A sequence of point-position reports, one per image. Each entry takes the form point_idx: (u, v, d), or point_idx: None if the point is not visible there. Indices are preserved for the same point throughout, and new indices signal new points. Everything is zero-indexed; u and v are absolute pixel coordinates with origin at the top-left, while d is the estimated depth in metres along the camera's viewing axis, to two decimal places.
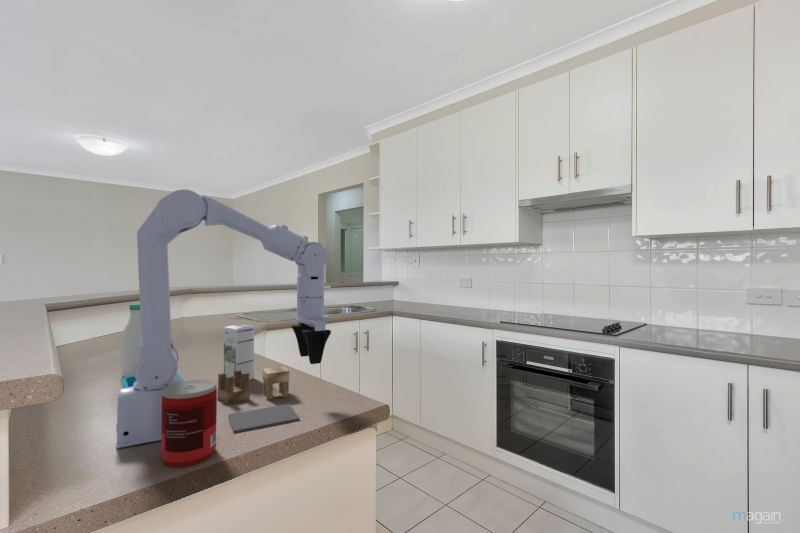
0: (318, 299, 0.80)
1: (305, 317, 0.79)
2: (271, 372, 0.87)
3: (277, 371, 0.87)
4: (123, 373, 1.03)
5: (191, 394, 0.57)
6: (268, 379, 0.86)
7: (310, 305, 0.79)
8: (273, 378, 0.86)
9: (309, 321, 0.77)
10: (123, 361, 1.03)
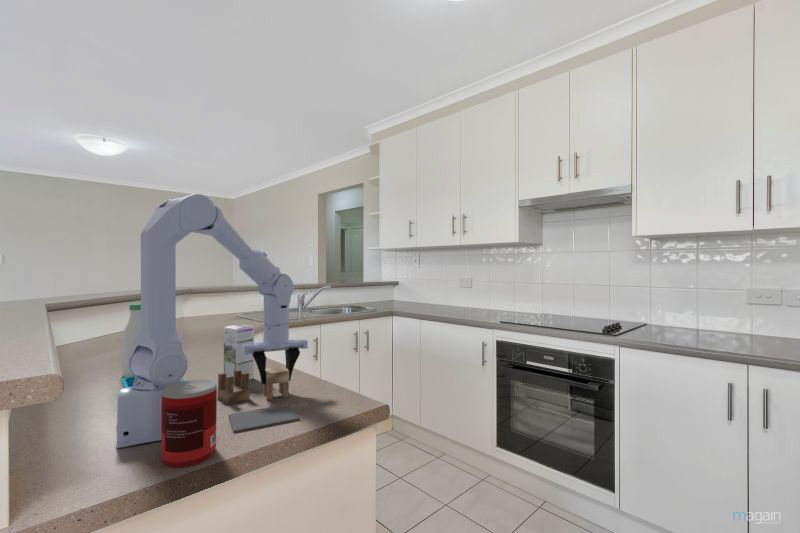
0: (265, 326, 0.87)
1: None
2: (271, 372, 0.87)
3: (277, 371, 0.87)
4: (123, 373, 1.03)
5: (191, 394, 0.57)
6: (268, 379, 0.86)
7: (263, 331, 0.88)
8: (273, 378, 0.86)
9: None
10: (123, 361, 1.03)
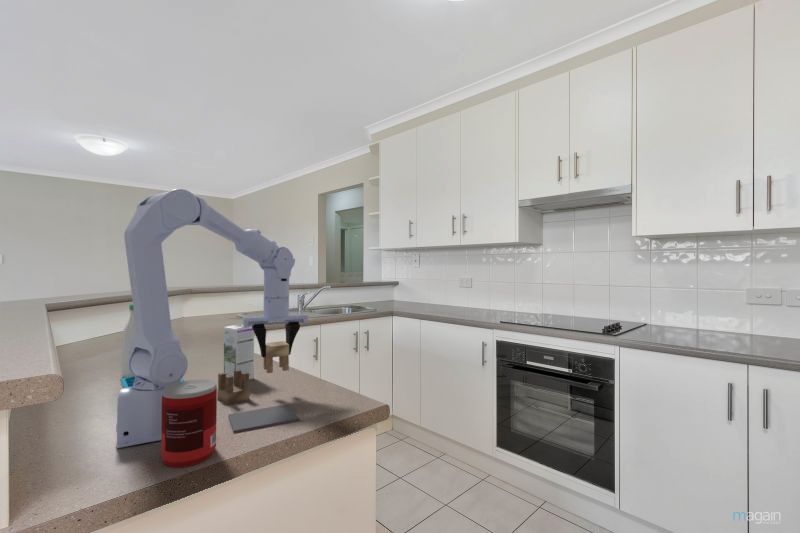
0: (265, 299, 0.87)
1: None
2: (271, 346, 0.87)
3: (277, 345, 0.87)
4: (123, 373, 1.03)
5: (191, 394, 0.57)
6: (268, 352, 0.86)
7: None
8: (273, 351, 0.86)
9: None
10: (123, 361, 1.03)
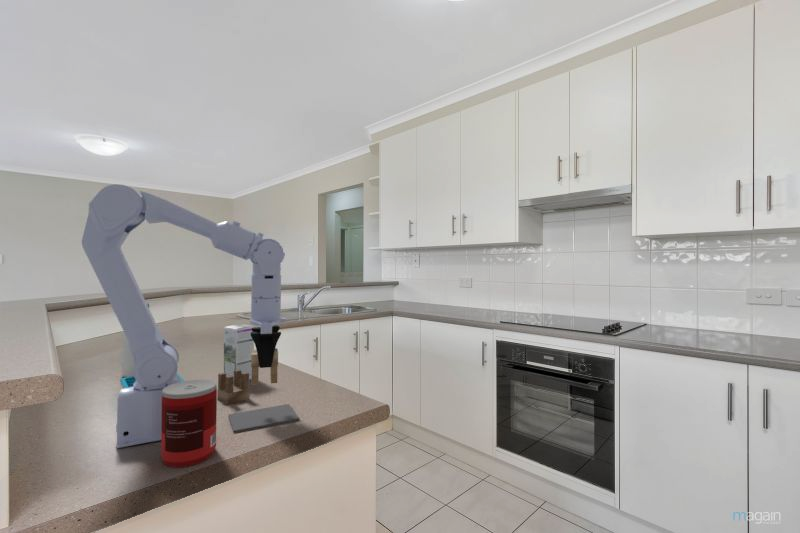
0: (271, 300, 0.75)
1: (256, 319, 0.74)
2: (274, 352, 0.76)
3: None
4: (123, 373, 1.03)
5: (191, 394, 0.57)
6: None
7: (262, 306, 0.74)
8: None
9: (257, 323, 0.72)
10: (123, 361, 1.03)
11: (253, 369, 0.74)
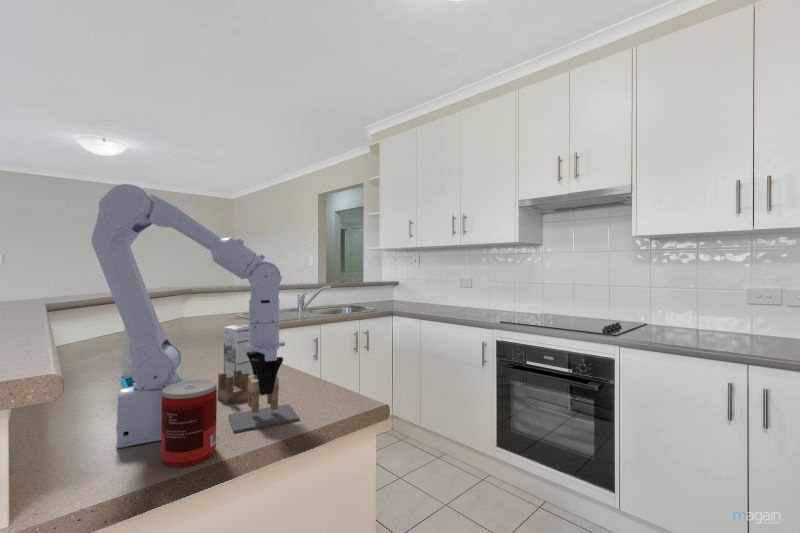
0: (271, 324, 0.73)
1: (256, 344, 0.72)
2: None
3: None
4: (123, 373, 1.03)
5: (191, 394, 0.57)
6: None
7: (262, 331, 0.72)
8: None
9: (259, 350, 0.70)
10: (123, 361, 1.03)
11: (253, 397, 0.72)
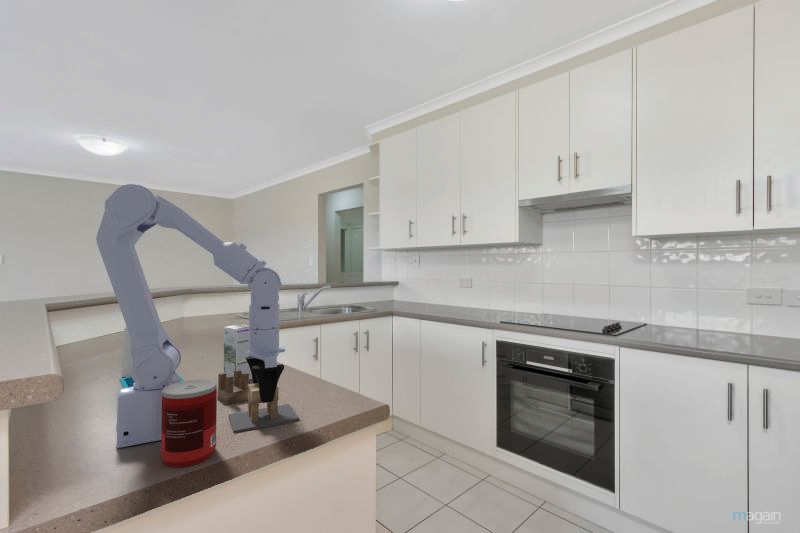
0: (271, 331, 0.73)
1: (256, 351, 0.72)
2: None
3: None
4: (123, 373, 1.03)
5: (191, 394, 0.57)
6: None
7: (262, 338, 0.72)
8: None
9: (259, 356, 0.70)
10: (123, 361, 1.03)
11: (253, 406, 0.72)
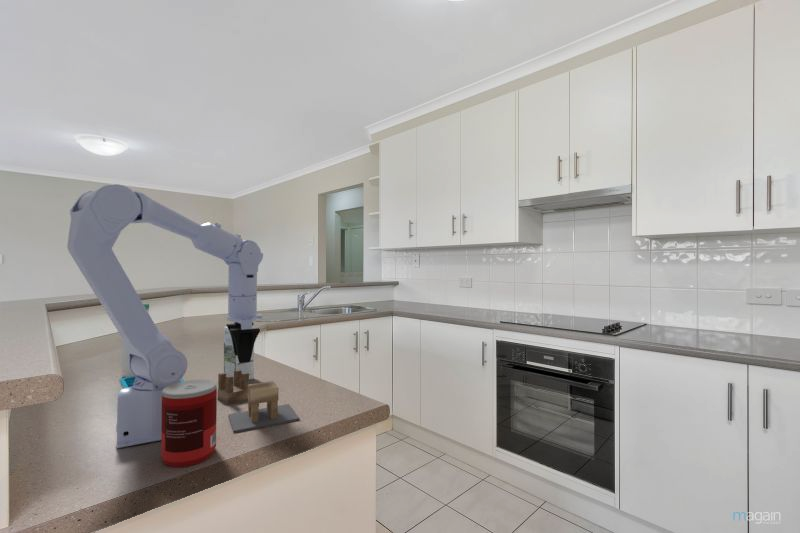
0: (249, 298, 0.80)
1: (235, 316, 0.79)
2: (273, 386, 0.75)
3: (271, 384, 0.76)
4: (123, 373, 1.03)
5: (191, 394, 0.57)
6: None
7: (240, 304, 0.79)
8: None
9: (237, 320, 0.77)
10: (123, 361, 1.03)
11: (253, 406, 0.72)
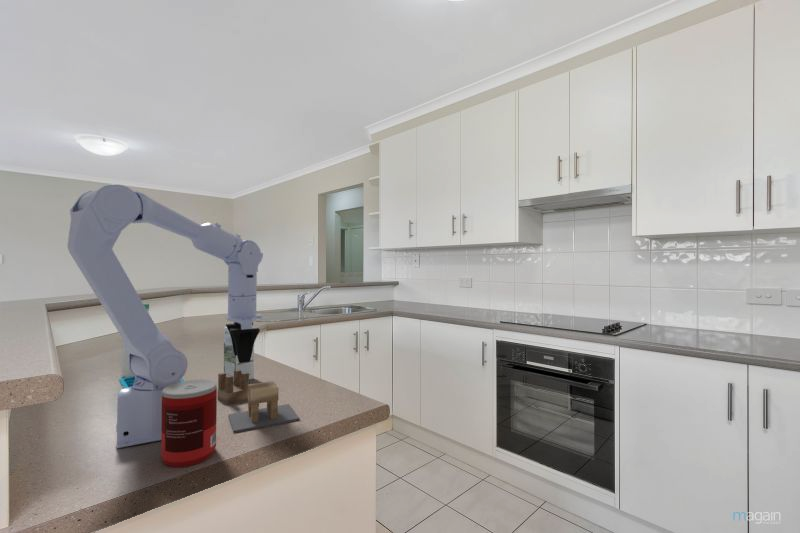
0: (248, 298, 0.80)
1: (234, 316, 0.79)
2: (273, 386, 0.75)
3: (271, 384, 0.76)
4: (123, 373, 1.03)
5: (191, 394, 0.57)
6: None
7: (239, 304, 0.79)
8: None
9: (237, 320, 0.77)
10: (123, 361, 1.03)
11: (253, 406, 0.72)
